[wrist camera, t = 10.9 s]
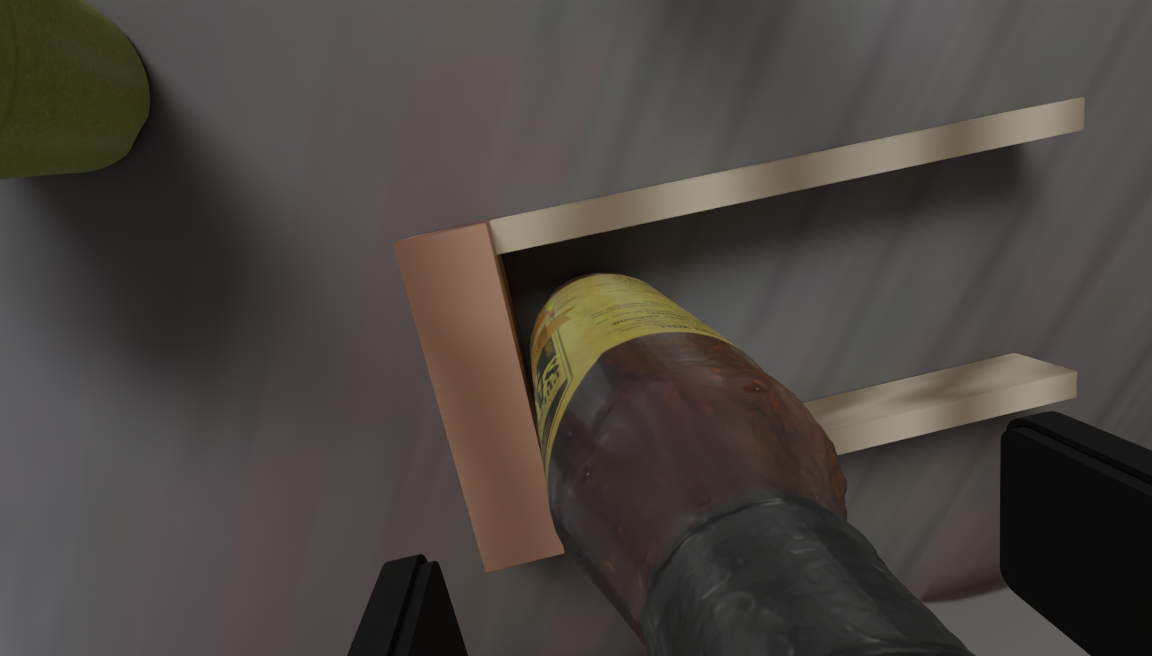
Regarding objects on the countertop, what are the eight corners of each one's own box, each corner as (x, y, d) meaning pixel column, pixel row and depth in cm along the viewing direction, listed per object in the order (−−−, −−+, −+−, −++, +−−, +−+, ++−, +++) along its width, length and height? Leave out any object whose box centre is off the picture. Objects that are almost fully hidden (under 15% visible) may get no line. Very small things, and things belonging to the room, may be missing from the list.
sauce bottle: (506, 300, 23) (435, 829, 3) (642, 245, 23) (1325, 463, 3) (562, 431, 24) (728, 1298, 5) (689, 380, 24) (1332, 1038, 5)
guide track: (1013, 110, 23) (1144, 85, 18) (1014, 375, 26) (1127, 414, 21) (420, 234, 22) (392, 242, 17) (492, 500, 25) (485, 572, 20)
